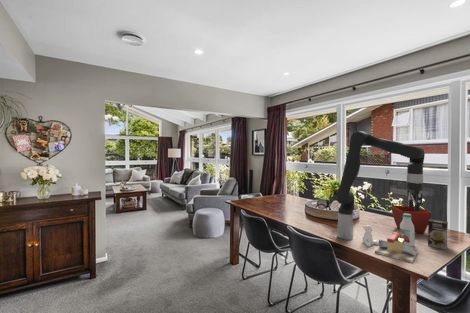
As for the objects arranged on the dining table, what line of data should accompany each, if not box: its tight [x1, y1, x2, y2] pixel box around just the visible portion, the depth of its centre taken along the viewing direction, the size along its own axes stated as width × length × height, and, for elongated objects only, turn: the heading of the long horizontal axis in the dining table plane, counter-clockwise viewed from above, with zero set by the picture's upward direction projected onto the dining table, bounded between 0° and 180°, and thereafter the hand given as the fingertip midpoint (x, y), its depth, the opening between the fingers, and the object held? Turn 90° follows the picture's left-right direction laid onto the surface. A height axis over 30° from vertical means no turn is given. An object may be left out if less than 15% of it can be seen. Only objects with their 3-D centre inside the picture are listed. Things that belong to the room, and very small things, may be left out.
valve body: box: [377, 237, 416, 256], centre depth 136 cm, size 17×7×7 cm, turn 44°
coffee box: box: [427, 218, 449, 250], centre depth 146 cm, size 9×6×16 cm
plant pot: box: [390, 205, 432, 234], centre depth 176 cm, size 19×19×17 cm
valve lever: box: [386, 231, 400, 243], centre depth 132 cm, size 15×4×3 cm, turn 134°
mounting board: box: [374, 246, 419, 264], centre depth 136 cm, size 18×16×2 cm
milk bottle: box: [399, 213, 416, 248], centre depth 148 cm, size 8×8×20 cm
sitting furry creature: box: [362, 224, 379, 247], centre depth 151 cm, size 10×9×12 cm
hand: (413, 209), depth 132 cm, fingers open, 8 cm apart
